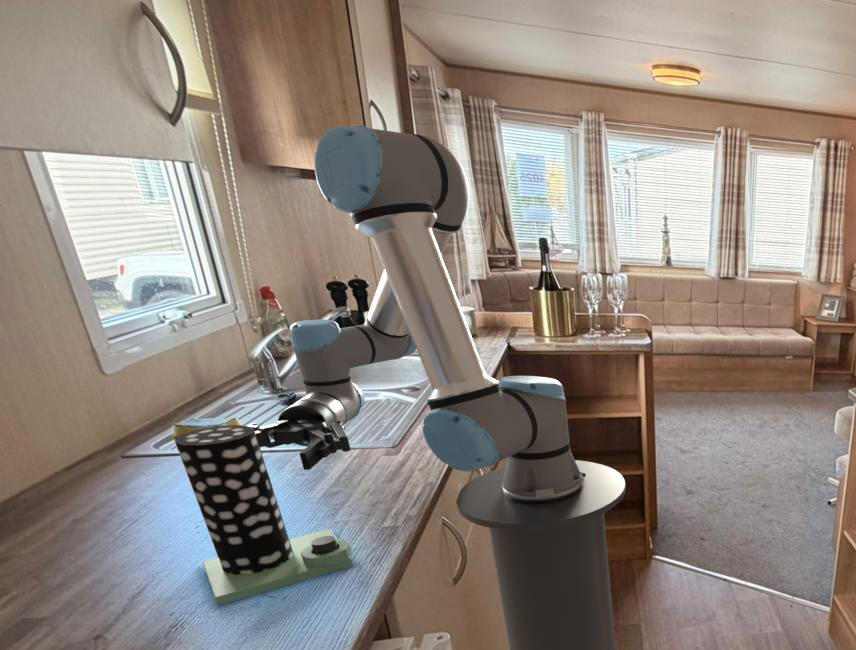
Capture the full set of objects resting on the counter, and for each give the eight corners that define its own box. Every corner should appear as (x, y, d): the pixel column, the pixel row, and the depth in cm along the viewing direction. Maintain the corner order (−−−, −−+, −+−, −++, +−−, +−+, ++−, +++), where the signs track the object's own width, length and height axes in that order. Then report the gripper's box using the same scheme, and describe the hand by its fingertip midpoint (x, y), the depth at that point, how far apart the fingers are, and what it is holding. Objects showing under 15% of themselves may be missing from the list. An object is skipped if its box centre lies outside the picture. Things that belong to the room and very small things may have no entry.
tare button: (335, 543, 99) (332, 533, 98) (340, 550, 97) (337, 540, 96) (311, 550, 97) (308, 540, 96) (316, 557, 95) (313, 547, 94)
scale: (335, 535, 106) (330, 519, 105) (358, 566, 98) (353, 549, 97) (205, 569, 95) (198, 551, 94) (218, 607, 87) (211, 589, 86)
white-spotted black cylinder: (301, 544, 100) (264, 423, 92) (281, 570, 93) (238, 442, 85) (237, 550, 98) (193, 427, 90) (211, 578, 91) (161, 447, 83)
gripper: (395, 437, 118) (352, 482, 99) (236, 442, 112) (159, 491, 93) (386, 398, 115) (341, 436, 96) (222, 401, 109) (140, 443, 90)
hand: (251, 463), depth 95 cm, fingers open, 13 cm apart
